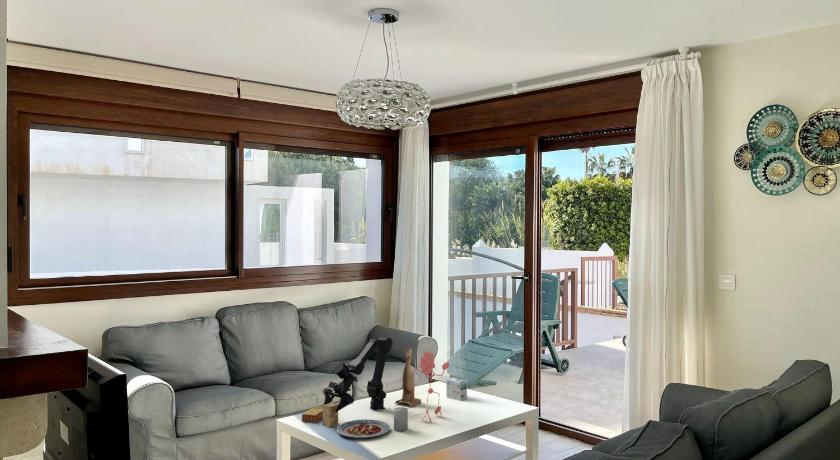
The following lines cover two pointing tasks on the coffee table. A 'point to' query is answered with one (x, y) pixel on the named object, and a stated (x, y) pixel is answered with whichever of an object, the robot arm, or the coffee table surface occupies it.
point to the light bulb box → (456, 389)
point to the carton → (313, 414)
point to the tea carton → (330, 415)
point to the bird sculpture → (408, 383)
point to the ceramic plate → (363, 428)
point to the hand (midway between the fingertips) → (329, 410)
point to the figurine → (427, 366)
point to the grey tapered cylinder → (400, 419)
